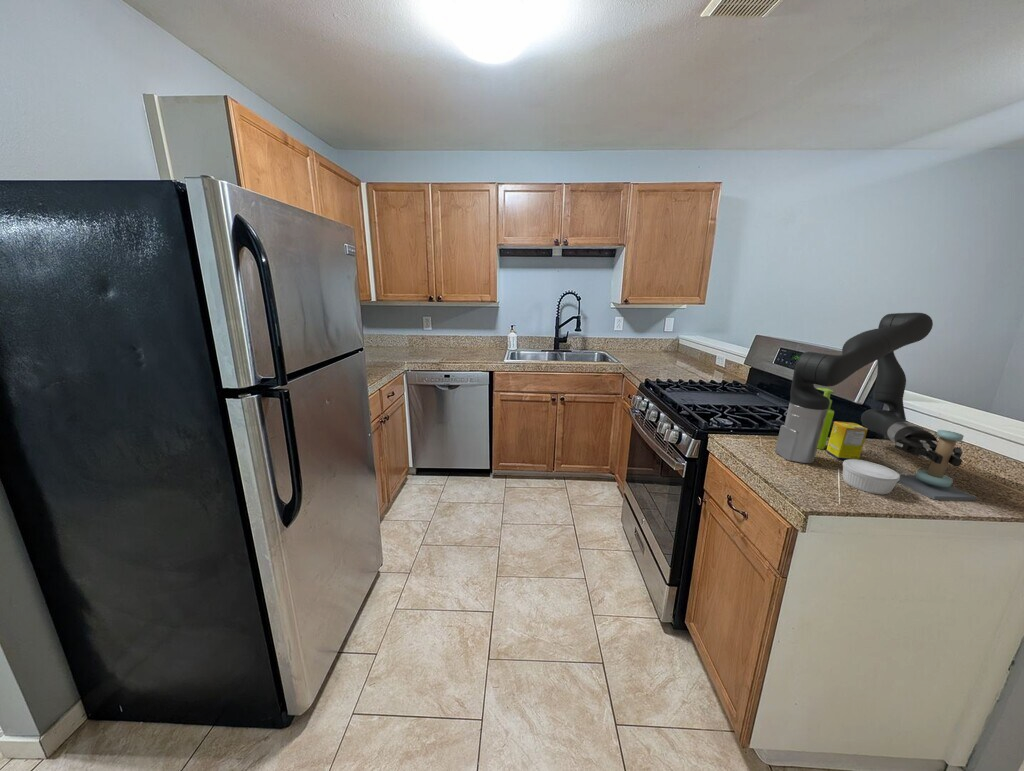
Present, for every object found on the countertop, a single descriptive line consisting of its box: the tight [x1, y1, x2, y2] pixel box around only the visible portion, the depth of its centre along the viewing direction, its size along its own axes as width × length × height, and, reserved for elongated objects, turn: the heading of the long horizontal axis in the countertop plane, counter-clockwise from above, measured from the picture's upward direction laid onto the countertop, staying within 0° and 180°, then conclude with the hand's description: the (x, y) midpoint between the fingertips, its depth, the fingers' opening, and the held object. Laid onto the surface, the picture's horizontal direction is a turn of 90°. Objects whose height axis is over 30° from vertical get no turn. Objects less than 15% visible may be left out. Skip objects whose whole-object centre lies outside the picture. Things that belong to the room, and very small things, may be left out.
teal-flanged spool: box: [915, 429, 964, 487], centre depth 95 cm, size 6×6×14 cm
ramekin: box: [842, 459, 901, 495], centre depth 97 cm, size 11×11×5 cm
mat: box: [897, 474, 977, 501], centre depth 97 cm, size 11×11×1 cm
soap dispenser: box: [816, 387, 835, 450], centre depth 122 cm, size 6×7×20 cm
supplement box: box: [825, 420, 869, 461], centre depth 114 cm, size 6×6×11 cm
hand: (949, 461), depth 93 cm, fingers closed on teal-flanged spool, 3 cm apart
